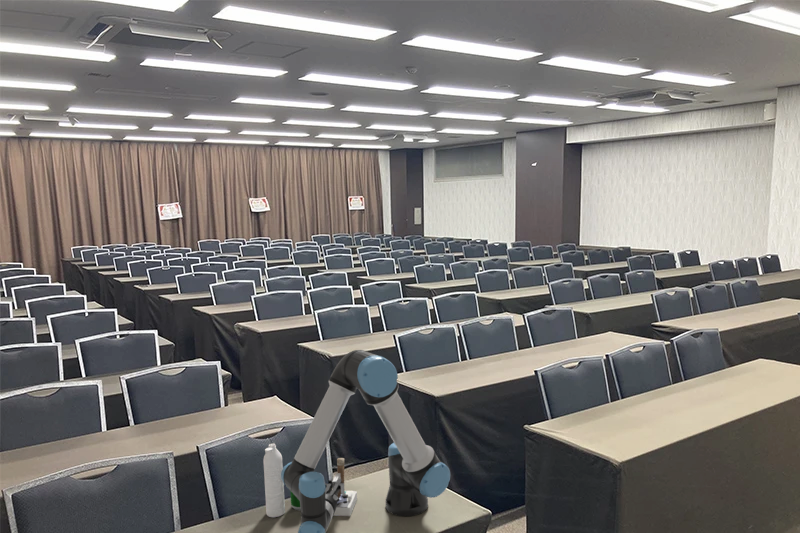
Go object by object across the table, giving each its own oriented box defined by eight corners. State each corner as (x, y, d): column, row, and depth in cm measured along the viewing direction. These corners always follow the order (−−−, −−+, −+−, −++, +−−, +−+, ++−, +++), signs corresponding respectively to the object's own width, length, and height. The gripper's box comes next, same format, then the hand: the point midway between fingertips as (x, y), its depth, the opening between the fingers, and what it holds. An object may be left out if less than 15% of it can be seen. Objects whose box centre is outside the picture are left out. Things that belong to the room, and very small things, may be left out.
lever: (348, 497, 204) (348, 458, 205) (346, 499, 201) (346, 459, 202) (335, 496, 204) (335, 457, 206) (333, 499, 202) (333, 459, 203)
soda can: (307, 512, 200) (306, 479, 199) (287, 511, 202) (286, 478, 201) (315, 502, 208) (313, 470, 207) (296, 500, 209) (294, 469, 208)
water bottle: (269, 508, 204) (265, 440, 202) (287, 508, 204) (283, 440, 202) (262, 521, 195) (258, 450, 194) (281, 521, 195) (277, 450, 193)
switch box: (357, 499, 209) (356, 487, 208) (350, 516, 197) (349, 503, 196) (333, 498, 210) (332, 486, 209) (325, 515, 198) (324, 502, 197)
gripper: (302, 521, 180) (321, 486, 203) (343, 522, 178) (357, 487, 202) (301, 498, 179) (320, 466, 202) (342, 499, 178) (356, 466, 201)
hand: (338, 476), depth 202 cm, fingers closed
